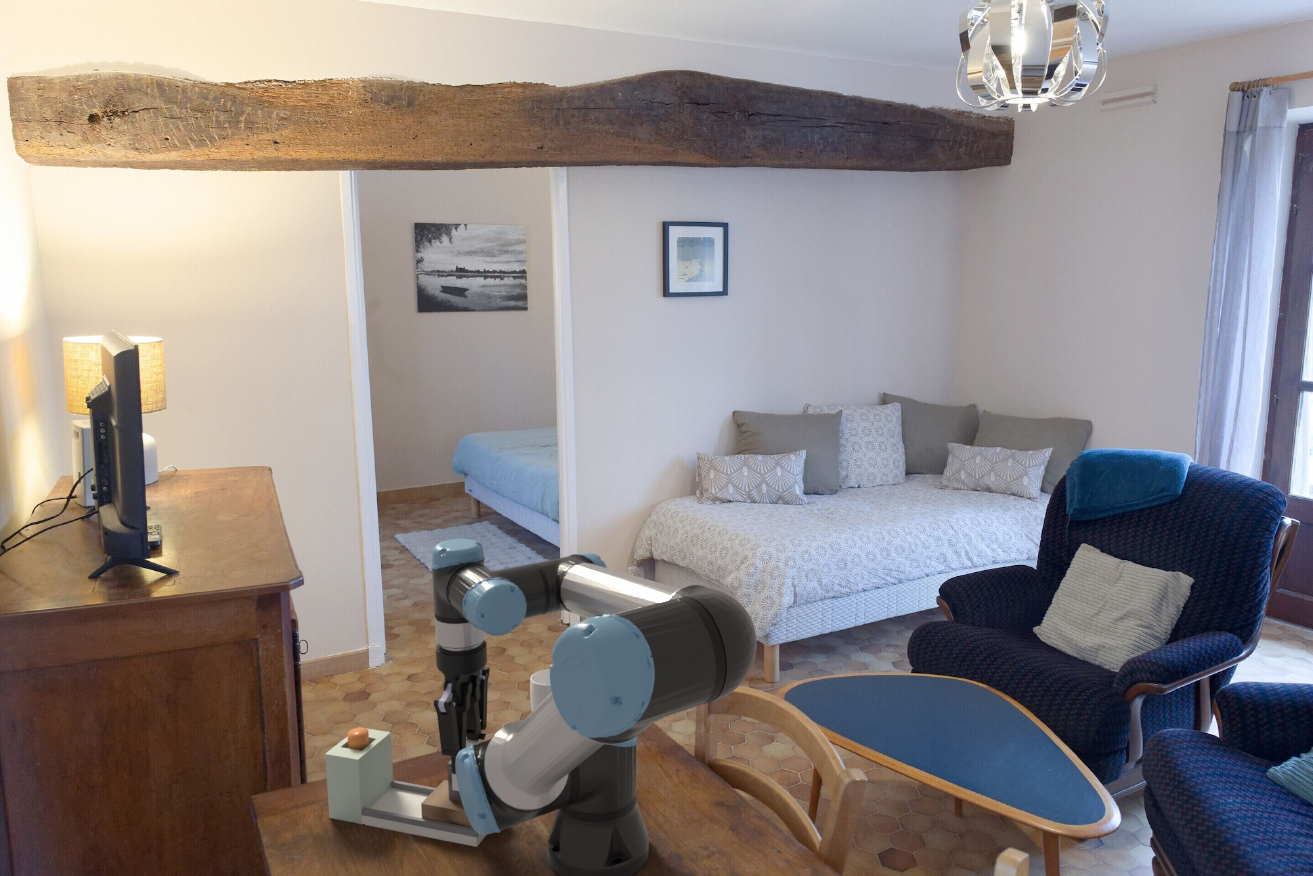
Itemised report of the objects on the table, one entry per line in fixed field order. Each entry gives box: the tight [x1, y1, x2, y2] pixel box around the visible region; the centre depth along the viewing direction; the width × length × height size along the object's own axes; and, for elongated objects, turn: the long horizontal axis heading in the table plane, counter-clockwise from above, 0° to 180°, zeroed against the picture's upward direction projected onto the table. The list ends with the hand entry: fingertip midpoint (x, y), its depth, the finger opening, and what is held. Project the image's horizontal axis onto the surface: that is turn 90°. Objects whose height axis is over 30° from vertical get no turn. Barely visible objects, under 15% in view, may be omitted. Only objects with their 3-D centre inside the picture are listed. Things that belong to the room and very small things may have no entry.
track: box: [361, 779, 487, 848], centre depth 146 cm, size 20×9×2 cm, turn 73°
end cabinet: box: [324, 726, 394, 825], centre depth 149 cm, size 6×9×11 cm, turn 163°
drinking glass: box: [529, 668, 552, 713], centre depth 164 cm, size 7×7×15 cm
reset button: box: [346, 727, 369, 751], centre depth 148 cm, size 3×3×2 cm
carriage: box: [421, 759, 472, 828], centre depth 143 cm, size 10×7×9 cm
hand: (466, 784), depth 143 cm, fingers closed on carriage, 2 cm apart
